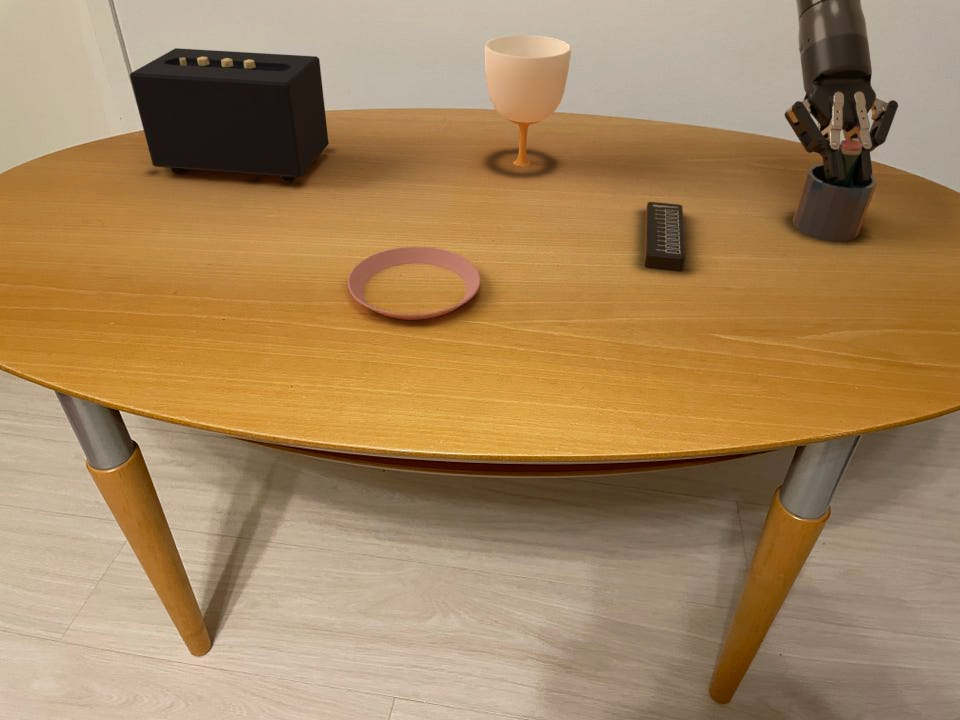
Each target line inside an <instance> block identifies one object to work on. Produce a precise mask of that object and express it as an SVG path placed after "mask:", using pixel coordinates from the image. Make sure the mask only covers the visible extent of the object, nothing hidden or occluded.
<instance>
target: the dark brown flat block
mask: <svg viewBox="0 0 960 720" xmlns="http://www.w3.org/2000/svg"><path fill="white" fill-rule="evenodd" d="M644 216H645V217H644V218H645V219H644V222H645V223H644V251H643V254H644V255H643V267H644V268H646V269H651V270H660V271H661V270H663V271H670V272H671V271H672V272H682V271H684V266H685V263H686V246H685V245H686V244H685V227H684V226H685V225H684V210H683V205H682V204H679V203H669V202H658V201H657V202H656V201H647V204H646V210H645V215H644Z"/></svg>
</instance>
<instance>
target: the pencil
mask: <svg viewBox="0 0 960 720" xmlns="http://www.w3.org/2000/svg"><path fill="white" fill-rule="evenodd" d="M862 147H863V144H862V143H860V142H858V141H854V140H845V139H844V140H840V147H839V148H838V151H840V150H841V151H842V157H843V165H844V174H845V180H844V181H843V182H842V183H841V184H839V185H838V186H839V187H847V188H849V185H850V182H851V179H852V176H853V173H854V170H855V167H856V164H857V161H858V158H859V155H860V154H861V151H862ZM828 184H829V181H828Z"/></svg>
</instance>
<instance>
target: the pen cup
mask: <svg viewBox="0 0 960 720" xmlns="http://www.w3.org/2000/svg"><path fill="white" fill-rule="evenodd" d="M824 173H825V172H824V165H823V163H817V164H815V165H811V167H809V168H807V171H806V175H805V178H804V181H803V184H802V188H801V192H800V194H799V198H798V202H797V205H796V208H795V211H794V214H793V219H792V225H793V227H794V228H795V229H796V230H797V231H798V232H800V233H802V234H803V235H806V236H807V237H810V238H814V239H816V240H820V241H824V242H831V243H832V242H833V243H841V242H849V241H851V240H852V241H853V240H855V239H856V238H857V237H858V236H859V234H860V231H861V228H862V226H863V223H864V220H865V217H866V215H867V213H868V210H869V206H870V204H871V201H872V198H873V195H874V193H875V189H876V187H877V183H878V182H877V178H876V177H875V175H872V176H871V177H869V180H868V181H867V182H866V183H864V184H863V185H859V186H855V185H854V184H853V176H852V179H851V182H850V185H849V188H847V187H839V186H835V185H831V184H828V181H827V180H826V179H825V174H824Z"/></svg>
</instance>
